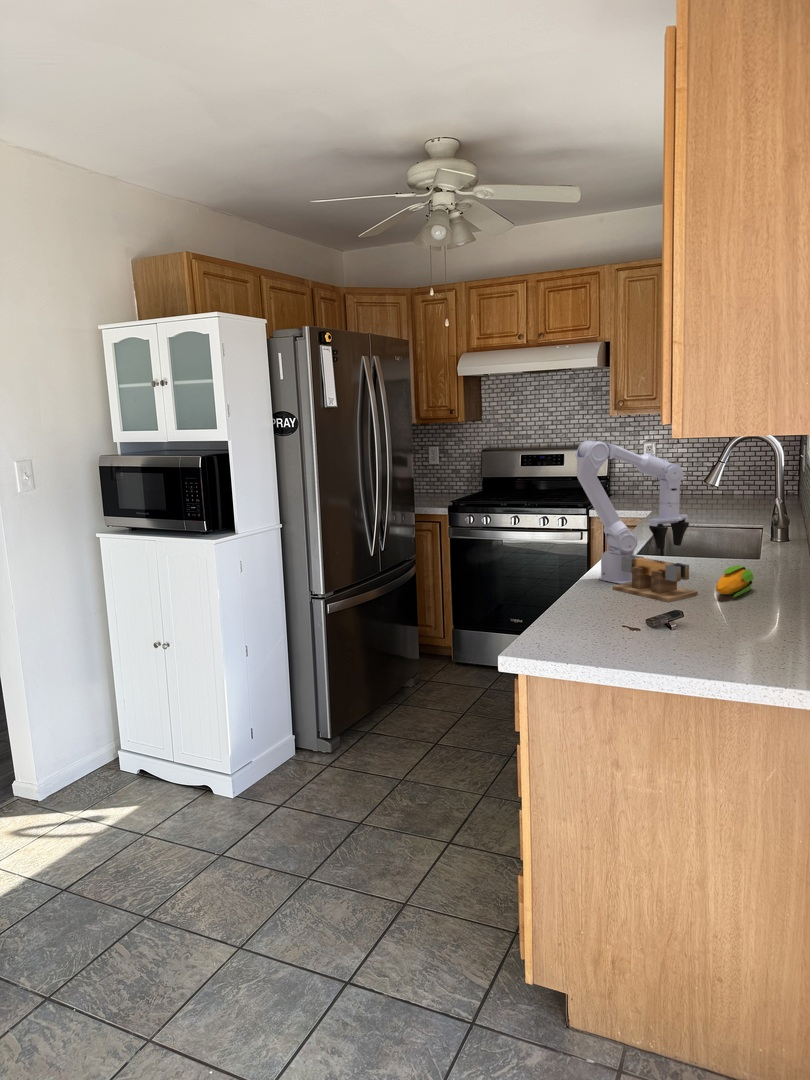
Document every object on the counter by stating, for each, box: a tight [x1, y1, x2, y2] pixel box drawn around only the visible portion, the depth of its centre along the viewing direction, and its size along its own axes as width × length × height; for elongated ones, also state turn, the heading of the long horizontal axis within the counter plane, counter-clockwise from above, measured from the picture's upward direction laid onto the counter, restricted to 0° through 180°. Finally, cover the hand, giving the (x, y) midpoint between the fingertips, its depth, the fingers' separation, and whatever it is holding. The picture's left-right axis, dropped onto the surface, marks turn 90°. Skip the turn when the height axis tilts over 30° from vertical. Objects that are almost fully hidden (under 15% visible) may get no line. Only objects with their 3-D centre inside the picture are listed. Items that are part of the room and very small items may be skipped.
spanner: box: [621, 554, 690, 583], centre depth 215 cm, size 20×5×4 cm, turn 31°
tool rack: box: [612, 567, 699, 603], centre depth 216 cm, size 20×12×7 cm, turn 31°
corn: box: [715, 565, 755, 598], centre depth 209 cm, size 7×8×20 cm
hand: (668, 547), depth 232 cm, fingers open, 7 cm apart
